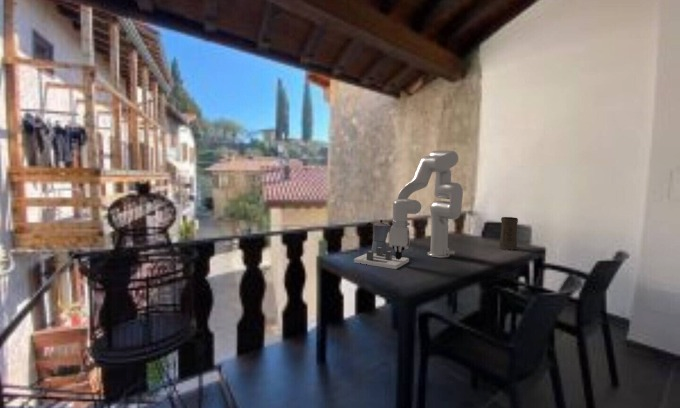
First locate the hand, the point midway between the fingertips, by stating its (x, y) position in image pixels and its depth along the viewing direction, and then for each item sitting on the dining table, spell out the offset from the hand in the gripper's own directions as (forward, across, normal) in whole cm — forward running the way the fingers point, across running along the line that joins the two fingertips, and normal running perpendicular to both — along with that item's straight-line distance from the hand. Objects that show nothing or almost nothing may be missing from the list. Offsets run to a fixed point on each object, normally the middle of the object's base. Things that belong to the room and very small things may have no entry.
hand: (398, 258), depth 219 cm
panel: (+3, +10, 0) cm, 10 cm away
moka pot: (+3, +20, -17) cm, 26 cm away
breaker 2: (+1, +14, -6) cm, 15 cm away
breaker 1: (+1, +14, +6) cm, 15 cm away
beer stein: (+3, -42, -79) cm, 89 cm away
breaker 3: (+1, +6, 0) cm, 6 cm away
